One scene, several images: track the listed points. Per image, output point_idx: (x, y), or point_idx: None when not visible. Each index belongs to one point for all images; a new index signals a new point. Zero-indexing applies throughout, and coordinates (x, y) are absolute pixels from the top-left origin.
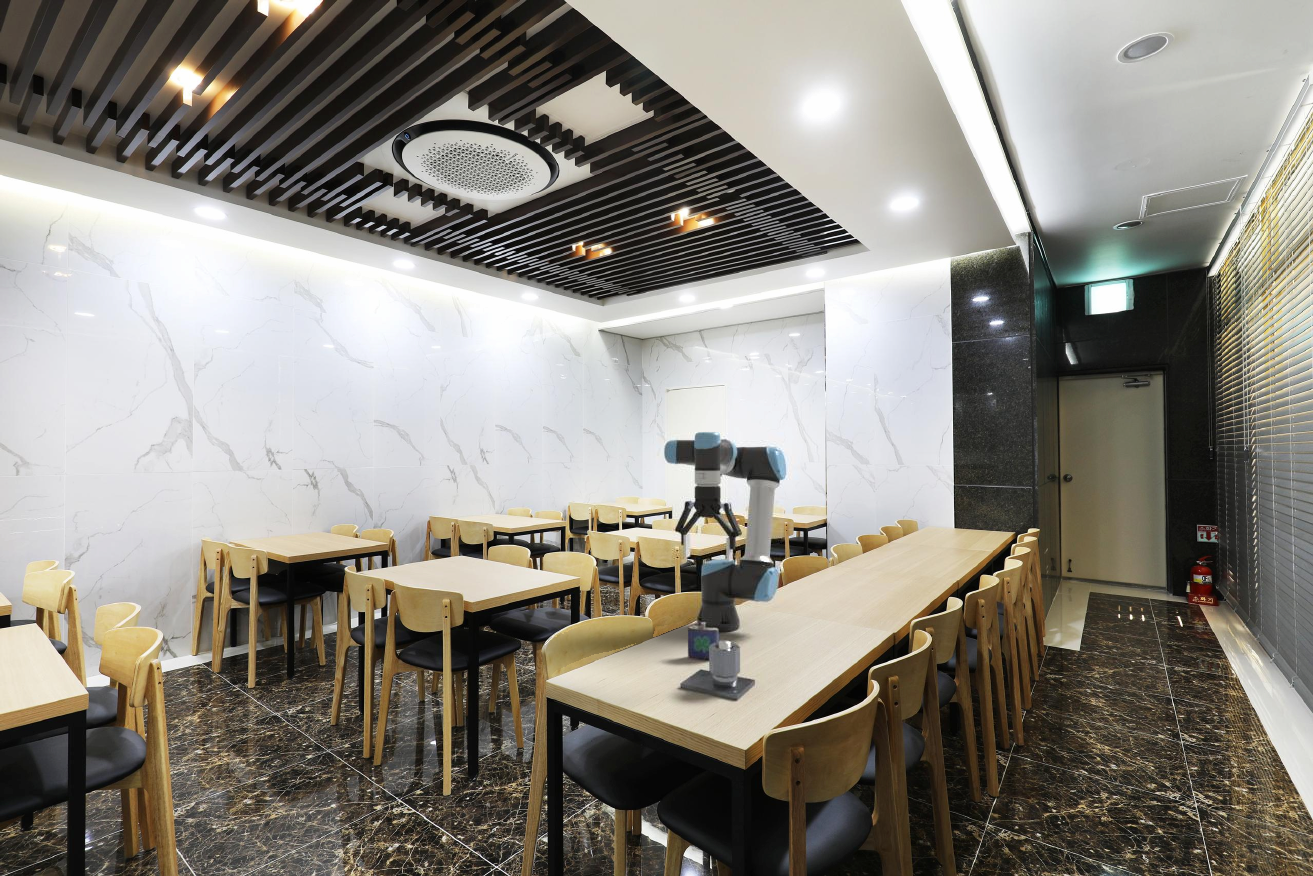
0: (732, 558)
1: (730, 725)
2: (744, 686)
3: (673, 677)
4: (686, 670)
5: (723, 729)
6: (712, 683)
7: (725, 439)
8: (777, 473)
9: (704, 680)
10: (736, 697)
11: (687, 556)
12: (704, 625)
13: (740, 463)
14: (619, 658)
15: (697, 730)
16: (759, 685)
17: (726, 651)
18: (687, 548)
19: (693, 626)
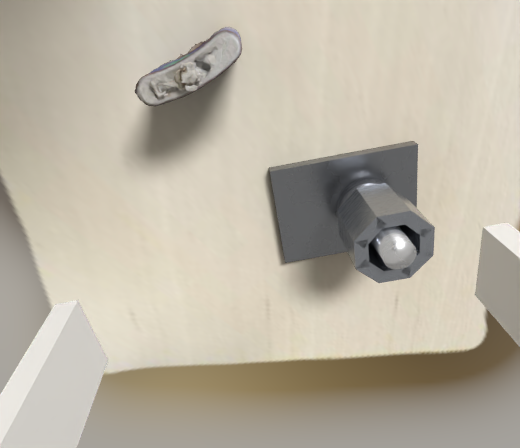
0: (516, 233)
1: (438, 312)
2: (411, 193)
3: (233, 224)
4: (227, 171)
5: (433, 326)
6: None
7: None
8: None
9: (318, 221)
10: None
11: (96, 342)
12: (197, 77)
13: None
14: (37, 215)
15: (400, 348)
16: (424, 138)
17: (414, 272)
18: (69, 403)
19: (159, 97)
